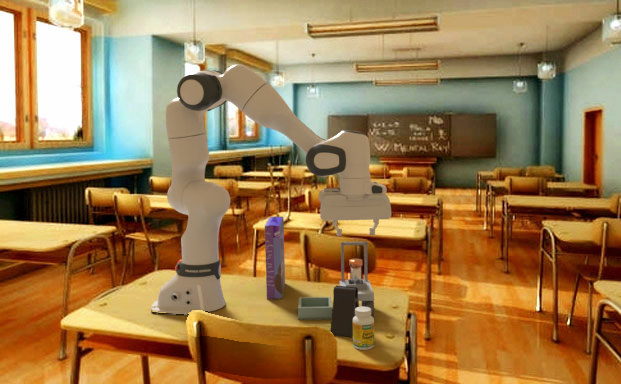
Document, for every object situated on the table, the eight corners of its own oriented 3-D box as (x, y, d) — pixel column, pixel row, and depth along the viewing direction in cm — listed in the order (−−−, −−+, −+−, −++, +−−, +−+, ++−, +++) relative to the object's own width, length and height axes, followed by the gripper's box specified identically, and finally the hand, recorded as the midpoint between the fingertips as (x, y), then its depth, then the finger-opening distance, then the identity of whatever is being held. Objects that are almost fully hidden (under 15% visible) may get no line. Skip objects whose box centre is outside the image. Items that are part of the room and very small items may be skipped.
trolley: (342, 322, 151) (341, 252, 148) (339, 306, 165) (338, 241, 162) (374, 322, 151) (373, 251, 148) (369, 305, 165) (368, 241, 162)
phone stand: (351, 337, 140) (351, 292, 138) (329, 334, 142) (329, 290, 141) (361, 325, 148) (361, 283, 147) (341, 323, 150) (340, 281, 149)
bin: (298, 319, 153) (298, 307, 153) (299, 308, 163) (299, 297, 163) (332, 319, 153) (331, 307, 153) (331, 308, 163) (330, 296, 163)
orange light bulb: (349, 289, 155) (349, 261, 154) (349, 285, 159) (348, 258, 158) (363, 288, 155) (362, 261, 154) (361, 285, 159) (361, 258, 158)
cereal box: (281, 299, 172) (279, 225, 170) (266, 299, 173) (264, 225, 170) (285, 283, 190) (283, 216, 187) (271, 283, 190) (269, 216, 187)
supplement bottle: (364, 340, 138) (364, 303, 137) (378, 346, 134) (378, 309, 132) (348, 345, 135) (348, 308, 134) (362, 352, 131) (362, 314, 129)
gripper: (318, 189, 150) (319, 238, 152) (392, 187, 150) (392, 236, 152) (318, 186, 156) (319, 233, 158) (388, 185, 156) (389, 232, 158)
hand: (355, 235), depth 155 cm, fingers open, 8 cm apart
